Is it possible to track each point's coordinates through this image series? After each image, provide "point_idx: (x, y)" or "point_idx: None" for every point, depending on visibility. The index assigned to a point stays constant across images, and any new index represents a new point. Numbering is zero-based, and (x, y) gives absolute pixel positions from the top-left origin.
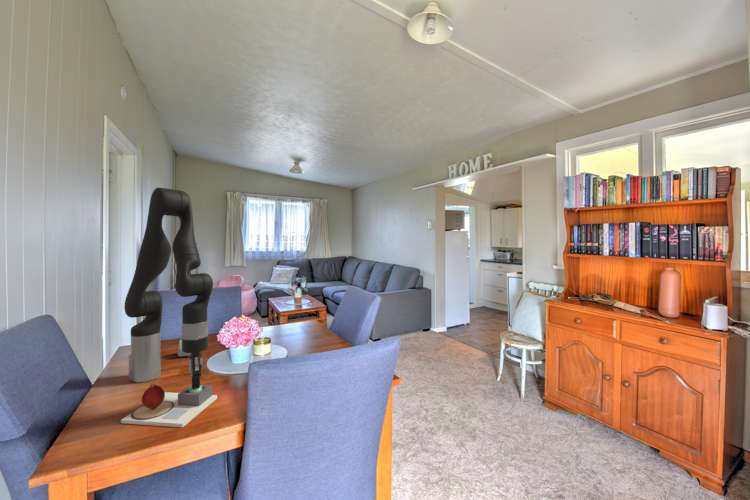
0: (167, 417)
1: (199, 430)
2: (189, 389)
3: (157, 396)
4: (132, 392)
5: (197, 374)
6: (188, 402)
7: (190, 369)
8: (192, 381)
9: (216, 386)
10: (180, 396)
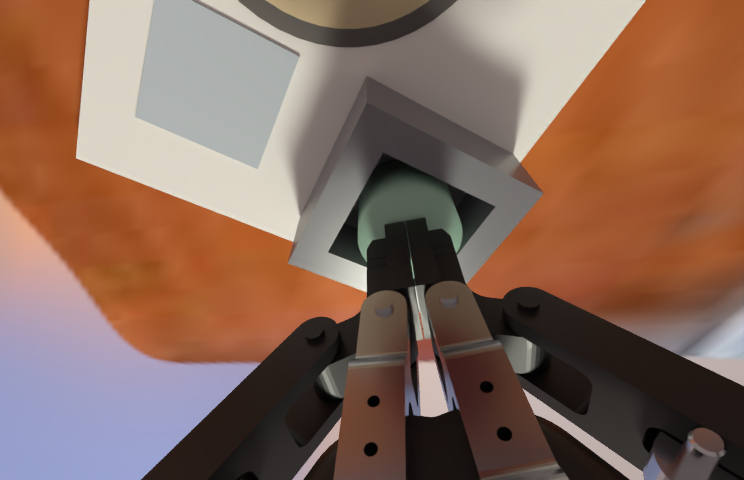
0: (159, 34)
1: (62, 234)
2: (395, 199)
3: None
4: None
5: (315, 388)
6: (328, 163)
7: (347, 392)
8: (386, 270)
9: (593, 262)
10: (353, 120)
